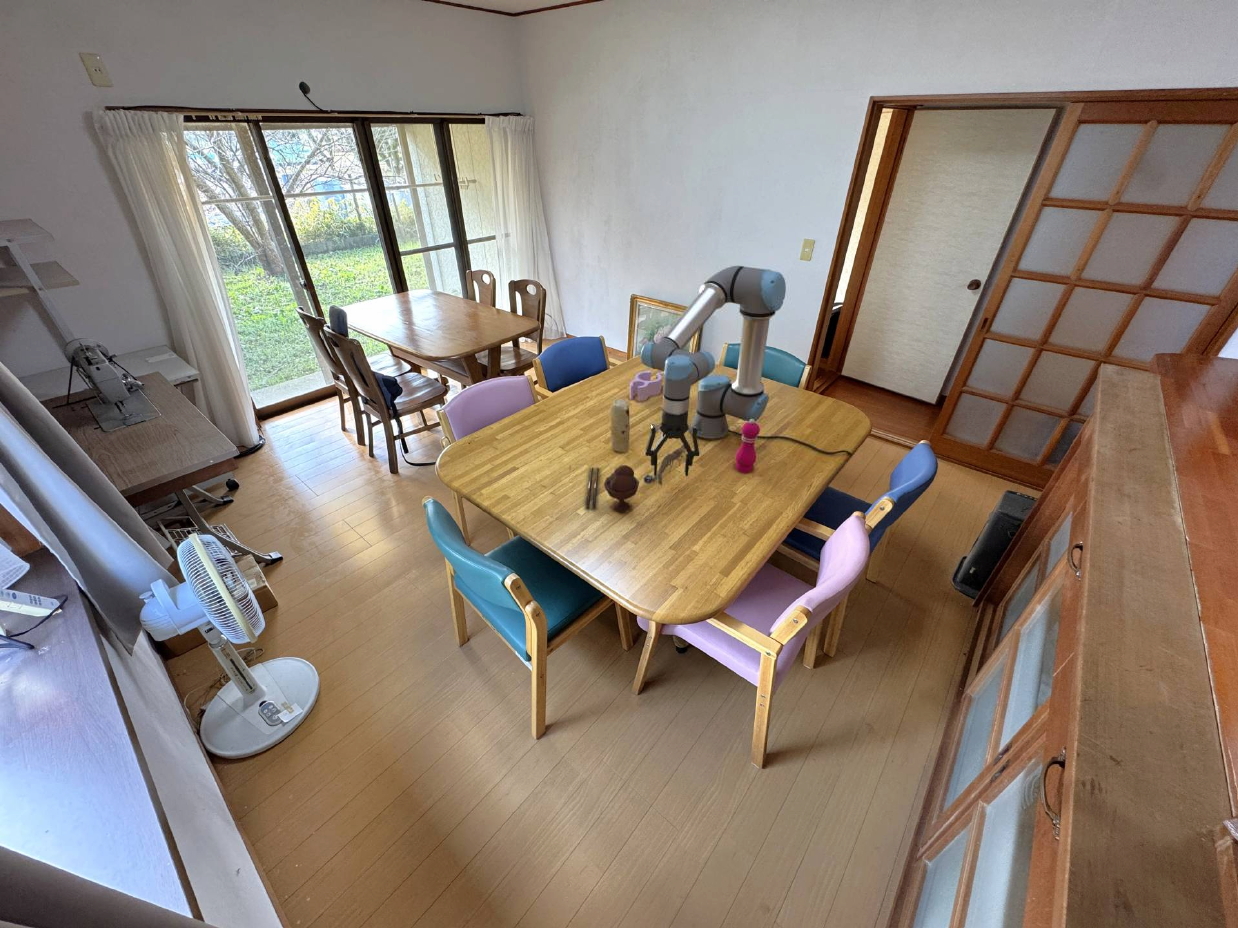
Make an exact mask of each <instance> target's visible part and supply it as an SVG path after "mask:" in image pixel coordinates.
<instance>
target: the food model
mask: <svg viewBox="0 0 1238 928" xmlns="http://www.w3.org/2000/svg"><path fill="white" fill-rule="evenodd" d="M612 403H613V404H611V406H610V441H611V442H610V443H611V446H612V449H613V450H614V451H615V452H618V453H626V452H628V450H629V444H630V433H631V431H630V429H631V428H630V423H631V422H630V419H631V418H630V405H629V404H628V402H627V401H626V399H623V398H617V397H616V398H615V399H613V402H612Z"/></svg>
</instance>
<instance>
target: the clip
mask: <svg viewBox="0 0 1238 928" xmlns="http://www.w3.org/2000/svg"><path fill="white" fill-rule="evenodd" d="M651 379H652V371H651V369H647V371H645V370H644V371H640V372H637V373H636V374H635V376H634V379H633V380H631V381H630V382H629V400H632V401H633V400H634V396H637V402H645V401H646V400H648V398H649V397H654V396H657V395H660V393H662V387H663V379H664V372H658V373H656V374H655V379H654V380H651Z"/></svg>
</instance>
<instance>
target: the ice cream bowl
mask: <svg viewBox="0 0 1238 928" xmlns="http://www.w3.org/2000/svg"><path fill="white" fill-rule="evenodd" d="M603 486H604V489H605V491H606V492H607V495H609V497H611V498H612V499H615V500H618V501H616V502H614V503H613V505H612V507H613V510H614V511H615V512H617V513H626V512H628V511H630V508H631V504H630V503H629V502H628V501H626V500H628V499H630V498H632V497H635V495H636V493H637V492H638V489H639V486H640V481H639V480H638V479H637V478H636V476H635V471H634V469H633V468H632V467H631V466H629V465H627V464H622V465H619V466H618V467H616V468H615V469H614V471H613V472H612V473H610V476H608V477H606V478H605V481H604V483H603Z"/></svg>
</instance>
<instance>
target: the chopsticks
mask: <svg viewBox="0 0 1238 928" xmlns="http://www.w3.org/2000/svg"><path fill="white" fill-rule="evenodd" d="M593 474H594V468H593V467H590V471H589V480H588V488H587V494H586V495H587V496H586V504H585V509H587V510H589V509H590V502H591V501H590V500H591V491H592V483H593ZM598 480H599V467H596V468H595V476H594V486H593V497H592V507H591V508H592V510H595V509H596V503H597V491H598V483H599V482H598Z"/></svg>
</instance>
